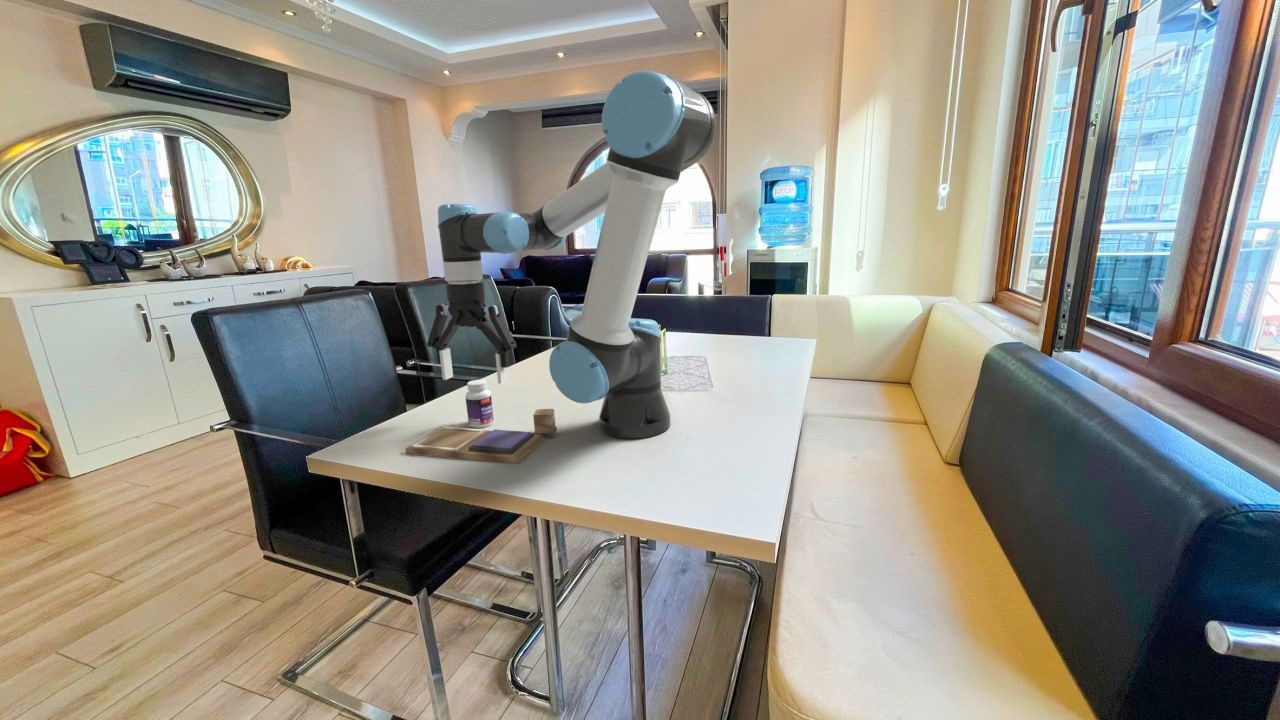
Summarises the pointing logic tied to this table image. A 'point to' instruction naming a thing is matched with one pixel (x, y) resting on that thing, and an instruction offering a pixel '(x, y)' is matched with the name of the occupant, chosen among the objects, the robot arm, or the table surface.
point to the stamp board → (477, 444)
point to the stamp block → (545, 422)
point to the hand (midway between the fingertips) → (475, 380)
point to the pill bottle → (479, 404)
